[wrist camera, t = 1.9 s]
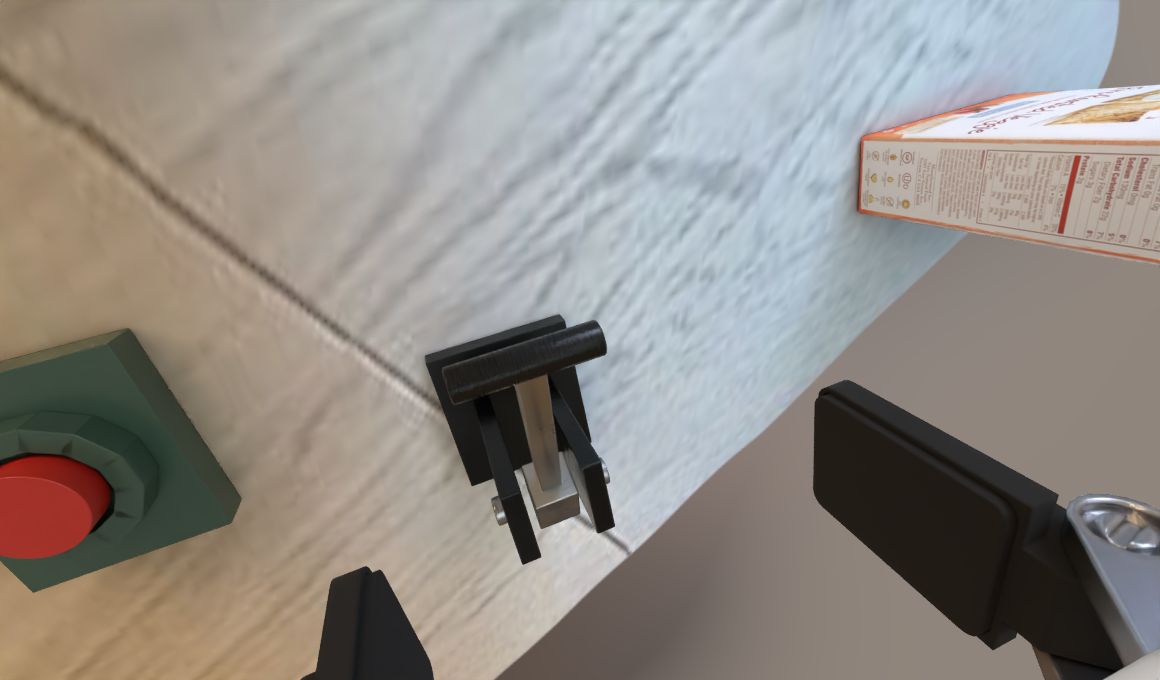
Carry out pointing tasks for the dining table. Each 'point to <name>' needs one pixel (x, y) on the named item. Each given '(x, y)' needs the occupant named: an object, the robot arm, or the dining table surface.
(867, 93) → the dining table surface
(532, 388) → the switch lever
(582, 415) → the switch bracket
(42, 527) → the red button
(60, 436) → the button box
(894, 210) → the cracker box
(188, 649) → the dining table surface
